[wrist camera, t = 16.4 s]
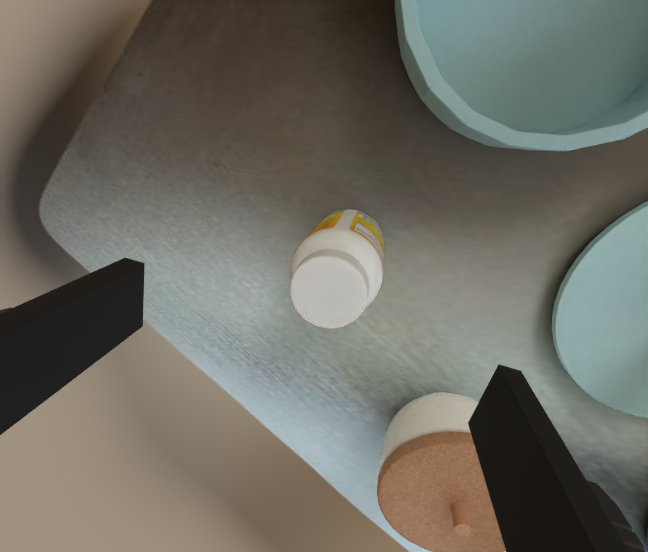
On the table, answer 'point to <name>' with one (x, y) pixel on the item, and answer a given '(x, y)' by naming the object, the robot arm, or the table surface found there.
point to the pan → (530, 68)
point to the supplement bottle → (338, 269)
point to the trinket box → (436, 478)
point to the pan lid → (608, 316)
